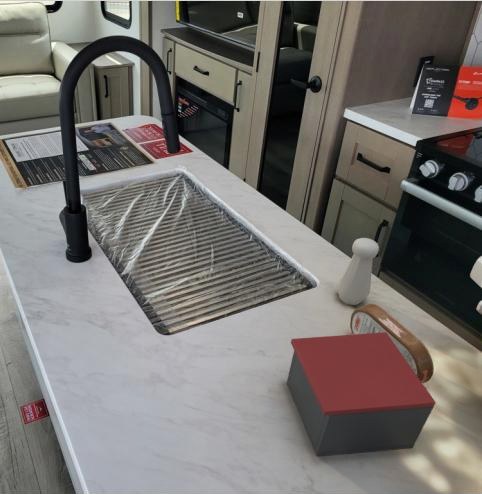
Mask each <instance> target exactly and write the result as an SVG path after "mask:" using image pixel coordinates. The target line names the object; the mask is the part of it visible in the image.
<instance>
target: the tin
mask: <svg viewBox="0 0 482 494" xmlns="http://www.w3.org/2000/svg"><path fill="white" fill-rule="evenodd" d="M349 323H350V324H349V325H350V326H349V327H350V331H351V335H354V334H368V333H382V332H387V334H388V335H389V337H390V338H391V340H392V341H393V342H394V344H395V345H396V347H397V348H398V349H399V351H400V352H401V354H402V355H403V357H404V358H405V359H406V361H407V362H408V364H409V365H410V367H411V368H412V369H413V371H414V372H415V374H416V375H417V376H418V378H419V379H420V381H421V382H422V384H425V383H428V382H429V381H430V380H431V379H432V377H433V375H434V369H435V368H434V362H433V358H432V355H431V353H430V351H429V350H428V348H427V347H426V345H425V344H424V343H423V341H422V340H420V338H419V337H417V336H416V335H415V334H414V333H412V332H411V331H410V330H409V329H408V328H406V327H405V326H404V325H403V324H402V323H401V322H399V321H398V320H397V319H396V318H395V317H394V316H392V315H391V314H390V313H389V312H388V311H387V310H386V309H384V308H383V307H382V306H381V305H378V304H376V303H366V304H364V305H363V306H360V307H358V308H355V309H354V310H353V311H352V313H351V316H350V322H349Z"/></svg>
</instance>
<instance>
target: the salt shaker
mask: <svg viewBox="0 0 482 494" xmlns="http://www.w3.org/2000/svg"><path fill="white" fill-rule="evenodd" d="M351 249H352V253H353V255H352V257H351V259H350V260H349V262H348V265H347V266H346V268H345V270H344V272H343V273H342V275H341V277H340V279H339V280H338V282H337V284H336V288H337V289H336V290H337V294H338V299H340V300H341V301H342V302H343V303H344V304H346V305H350V306H351V305H352V306H358V305H359V304H360V303H362V302H363V301H365V300H367V298H368V297H369V295H370V293H371V283H372V272H373V259H374V258H376V256H377V255H378V254H379V251H380V247H379V244H378V243H377V242H376V241H375V240H373V239H371V238H368V237H360V238H357V239H355V240H354V242H353V243H352V247H351Z"/></svg>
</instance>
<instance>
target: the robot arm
mask: <svg viewBox="0 0 482 494" xmlns="http://www.w3.org/2000/svg"><path fill="white" fill-rule="evenodd" d="M469 277H470V278H471V280H472V281H474V282H475V284H477V285H478V286H479V287H480V288H481V289H482V255H481V256H479V257H478V258H477V260H476V261H475V263H474V265H473V266H472V269H471V271H470V273H469ZM475 309H476V311H477V312H478V313H479V314H480V315H481V316H482V300H480V301H479V302H478V304H477V306H476V308H475Z"/></svg>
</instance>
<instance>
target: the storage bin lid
mask: <svg viewBox="0 0 482 494" xmlns="http://www.w3.org/2000/svg"><path fill="white" fill-rule="evenodd" d="M290 345H291V346H292V349H293V352H294V351H295V353H296V355H297V357H298V360H299V362H300V364H301V366H302V368H303V371H304V373H305V375H306V377H307V379H308V382H309V384H310V386H311V388H312V390H313V393H314V395H315V397H316V399H317V401H318V403H319V406H320V408H321V410H322V412H323V414H324V416H327V415H339V414H351V413H363V412H375V411H387V410H399V409H411V408H423V407H433V408H434V407H435V405H436V403H437V402H436V400H435V399H434V398H433V396H432V395H431V393H430V392H429V391H428V389H427V388H426V386H425V385H424V383H422V382H421V381H420V379H419V378H418V376H417V375H416V374H415V372H414V371H413V369H412V368H411V367H410V365H409V364H408V362H407V361H406V359H405V358H404V357H403V355H402V354H401V352H400V351H399V349H398V348H397V347H396V345H395V344H394V342H393V341H392V340H391V338H390V337H389V335H388V334H387V332H382V333H368V334H354V335H353V334H343V335H330V336H329V335H327V336H326V335H325V336H315V337H314V336H313V337H300V338H299V337H298V338H291V341H290Z"/></svg>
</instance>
